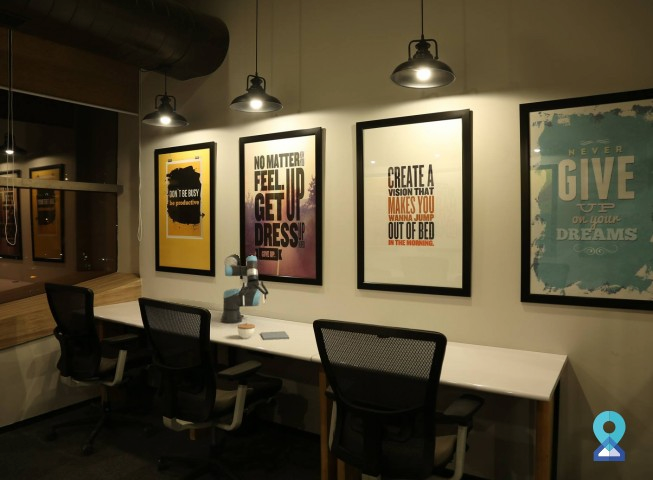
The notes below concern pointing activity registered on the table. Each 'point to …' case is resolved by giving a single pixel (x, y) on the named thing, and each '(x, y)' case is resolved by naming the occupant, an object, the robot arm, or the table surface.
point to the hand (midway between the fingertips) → (254, 304)
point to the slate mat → (274, 335)
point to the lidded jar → (246, 330)
